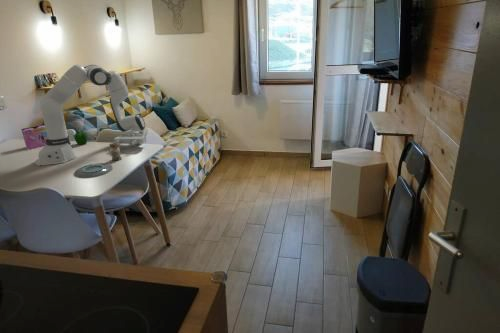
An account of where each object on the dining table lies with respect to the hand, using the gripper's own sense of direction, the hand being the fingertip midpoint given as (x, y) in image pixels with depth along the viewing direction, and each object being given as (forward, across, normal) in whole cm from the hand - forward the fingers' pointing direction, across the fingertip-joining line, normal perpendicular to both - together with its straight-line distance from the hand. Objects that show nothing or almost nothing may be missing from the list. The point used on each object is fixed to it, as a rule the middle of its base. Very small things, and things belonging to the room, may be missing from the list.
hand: (124, 143), depth 225 cm
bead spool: (+12, 0, +6) cm, 14 cm away
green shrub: (-18, -42, +6) cm, 46 cm away
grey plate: (+31, -5, +6) cm, 32 cm away
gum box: (-15, -70, +6) cm, 72 cm away
